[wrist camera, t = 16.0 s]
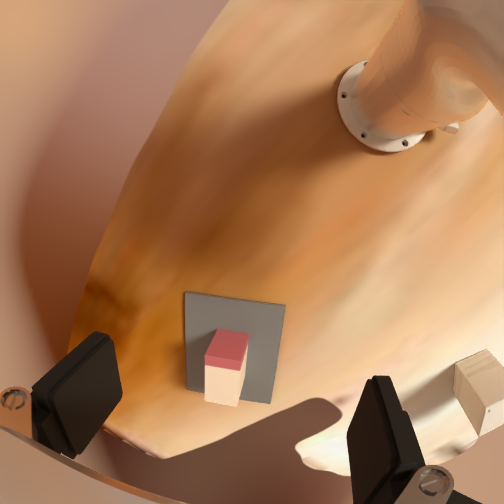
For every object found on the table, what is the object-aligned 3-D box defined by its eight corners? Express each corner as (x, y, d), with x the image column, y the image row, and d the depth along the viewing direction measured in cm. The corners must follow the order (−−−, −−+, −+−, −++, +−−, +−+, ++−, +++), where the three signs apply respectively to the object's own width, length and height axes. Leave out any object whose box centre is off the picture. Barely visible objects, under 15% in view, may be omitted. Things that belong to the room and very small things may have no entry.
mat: (285, 304, 41) (285, 306, 41) (270, 401, 46) (270, 403, 46) (186, 291, 43) (185, 292, 42) (188, 387, 48) (187, 389, 47)
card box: (244, 377, 45) (236, 406, 38) (216, 372, 45) (204, 400, 38) (249, 333, 43) (240, 361, 36) (217, 328, 43) (204, 354, 36)
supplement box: (451, 392, 42) (476, 438, 30) (454, 361, 40) (485, 408, 28) (484, 378, 40) (512, 420, 28) (488, 347, 39) (523, 388, 27)
